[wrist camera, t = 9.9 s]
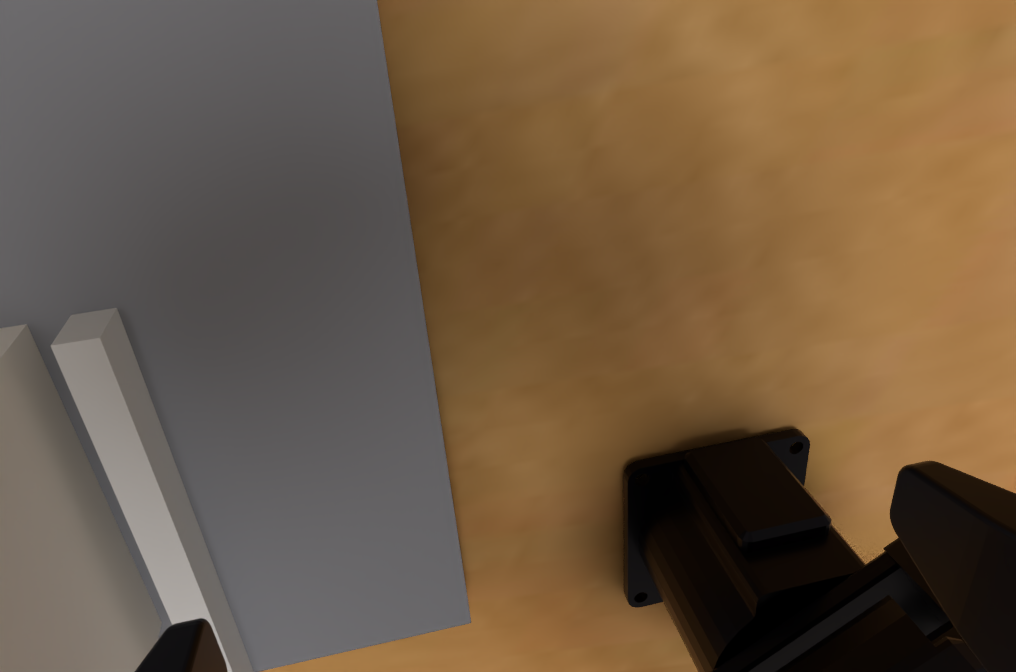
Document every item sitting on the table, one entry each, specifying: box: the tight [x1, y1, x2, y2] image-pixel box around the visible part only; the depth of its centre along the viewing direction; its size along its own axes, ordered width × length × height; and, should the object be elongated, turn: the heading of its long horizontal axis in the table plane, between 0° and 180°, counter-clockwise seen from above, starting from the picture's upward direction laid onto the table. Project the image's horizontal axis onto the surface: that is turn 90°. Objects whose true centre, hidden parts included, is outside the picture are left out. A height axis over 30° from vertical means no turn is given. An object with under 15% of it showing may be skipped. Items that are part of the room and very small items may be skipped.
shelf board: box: [0, 0, 471, 672], centre depth 18 cm, size 24×16×4 cm, turn 5°
